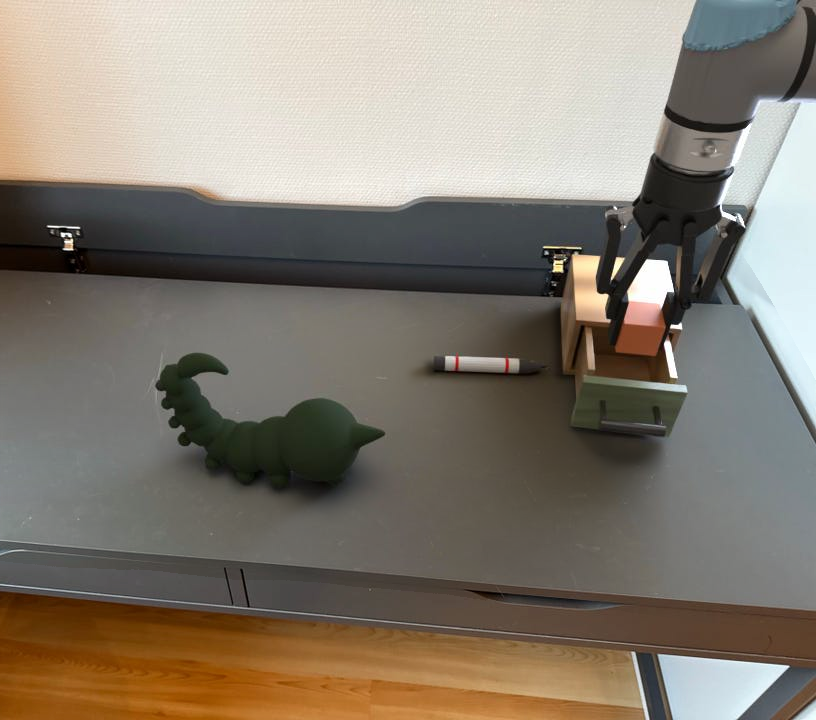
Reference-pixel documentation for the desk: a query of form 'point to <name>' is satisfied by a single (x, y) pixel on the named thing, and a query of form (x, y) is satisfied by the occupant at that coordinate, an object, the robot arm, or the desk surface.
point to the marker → (486, 364)
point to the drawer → (624, 387)
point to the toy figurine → (264, 431)
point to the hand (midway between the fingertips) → (634, 339)
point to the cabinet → (605, 299)
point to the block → (641, 329)
